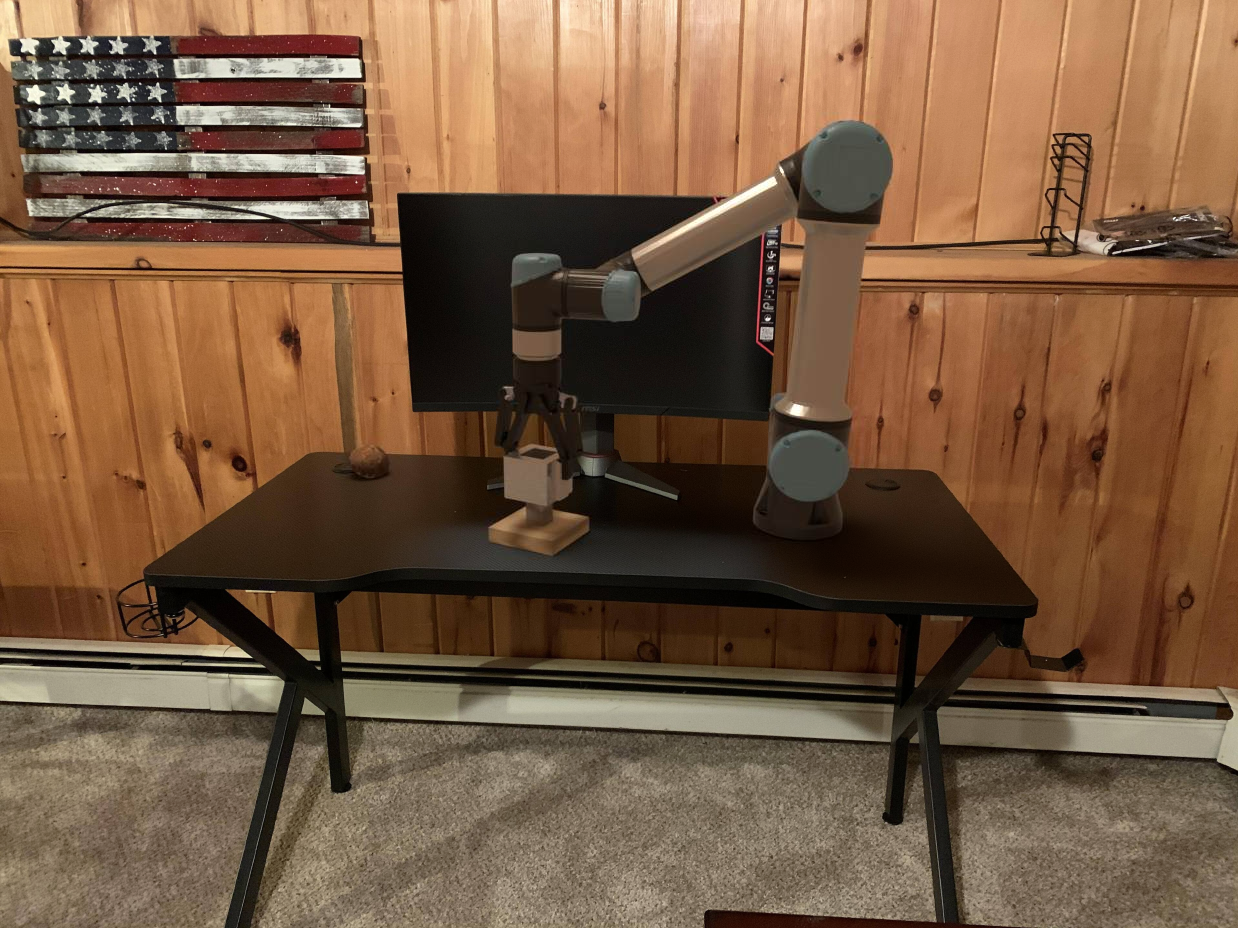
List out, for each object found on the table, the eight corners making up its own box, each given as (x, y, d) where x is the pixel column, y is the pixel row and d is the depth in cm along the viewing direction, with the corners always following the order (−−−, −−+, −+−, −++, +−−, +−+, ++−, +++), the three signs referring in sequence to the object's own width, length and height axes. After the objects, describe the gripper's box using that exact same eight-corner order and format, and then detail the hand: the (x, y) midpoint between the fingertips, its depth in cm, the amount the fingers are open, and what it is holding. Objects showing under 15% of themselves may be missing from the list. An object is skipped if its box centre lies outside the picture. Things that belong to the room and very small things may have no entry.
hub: (572, 491, 152) (572, 450, 150) (547, 506, 145) (546, 464, 143) (531, 483, 155) (530, 443, 153) (504, 497, 149) (503, 456, 147)
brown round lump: (343, 454, 184) (354, 433, 180) (381, 464, 188) (393, 443, 184) (342, 483, 178) (353, 462, 175) (381, 493, 182) (394, 472, 179)
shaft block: (589, 530, 155) (589, 483, 152) (552, 555, 145) (551, 505, 142) (528, 518, 160) (527, 471, 158) (488, 541, 150) (487, 492, 147)
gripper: (607, 358, 142) (606, 497, 149) (495, 345, 151) (498, 476, 158) (584, 367, 136) (583, 511, 143) (467, 352, 145) (472, 489, 152)
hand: (538, 493), depth 150 cm, fingers closed on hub, 8 cm apart
